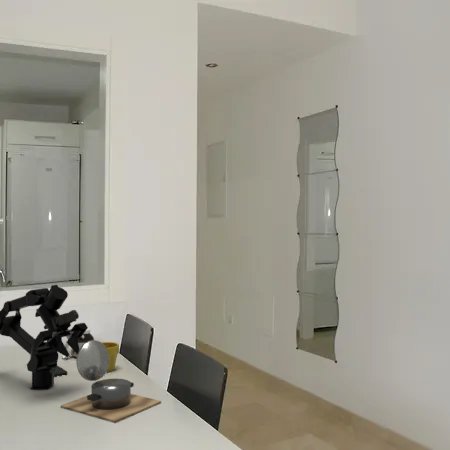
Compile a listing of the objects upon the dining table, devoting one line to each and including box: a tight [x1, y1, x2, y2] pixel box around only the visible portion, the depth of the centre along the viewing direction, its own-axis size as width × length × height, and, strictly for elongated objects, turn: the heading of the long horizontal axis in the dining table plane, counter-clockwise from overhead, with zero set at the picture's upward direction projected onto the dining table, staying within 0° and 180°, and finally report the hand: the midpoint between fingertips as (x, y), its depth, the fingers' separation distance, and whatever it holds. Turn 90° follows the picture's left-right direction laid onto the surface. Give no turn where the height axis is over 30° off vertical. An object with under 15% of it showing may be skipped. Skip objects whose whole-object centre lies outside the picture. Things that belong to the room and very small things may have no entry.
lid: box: [76, 339, 109, 382], centre depth 177 cm, size 13×13×2 cm
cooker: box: [86, 378, 135, 410], centre depth 173 cm, size 12×17×6 cm
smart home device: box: [52, 365, 68, 378], centre depth 212 cm, size 8×2×20 cm
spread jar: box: [61, 327, 95, 360], centre depth 232 cm, size 12×11×12 cm
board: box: [60, 393, 162, 424], centre depth 173 cm, size 24×20×1 cm
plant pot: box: [100, 341, 120, 373], centre depth 213 cm, size 10×10×10 cm
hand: (73, 354), depth 182 cm, fingers open, 4 cm apart
